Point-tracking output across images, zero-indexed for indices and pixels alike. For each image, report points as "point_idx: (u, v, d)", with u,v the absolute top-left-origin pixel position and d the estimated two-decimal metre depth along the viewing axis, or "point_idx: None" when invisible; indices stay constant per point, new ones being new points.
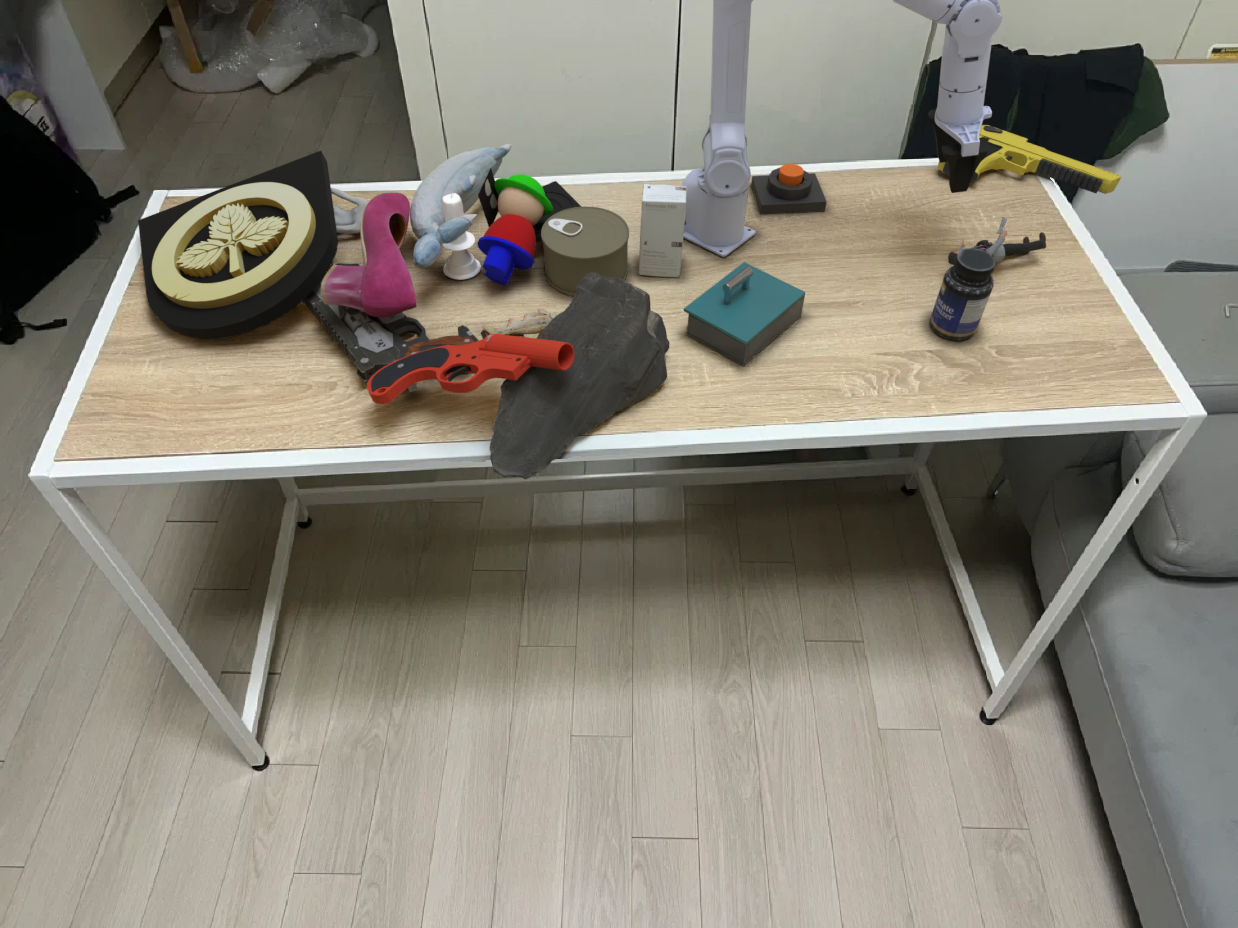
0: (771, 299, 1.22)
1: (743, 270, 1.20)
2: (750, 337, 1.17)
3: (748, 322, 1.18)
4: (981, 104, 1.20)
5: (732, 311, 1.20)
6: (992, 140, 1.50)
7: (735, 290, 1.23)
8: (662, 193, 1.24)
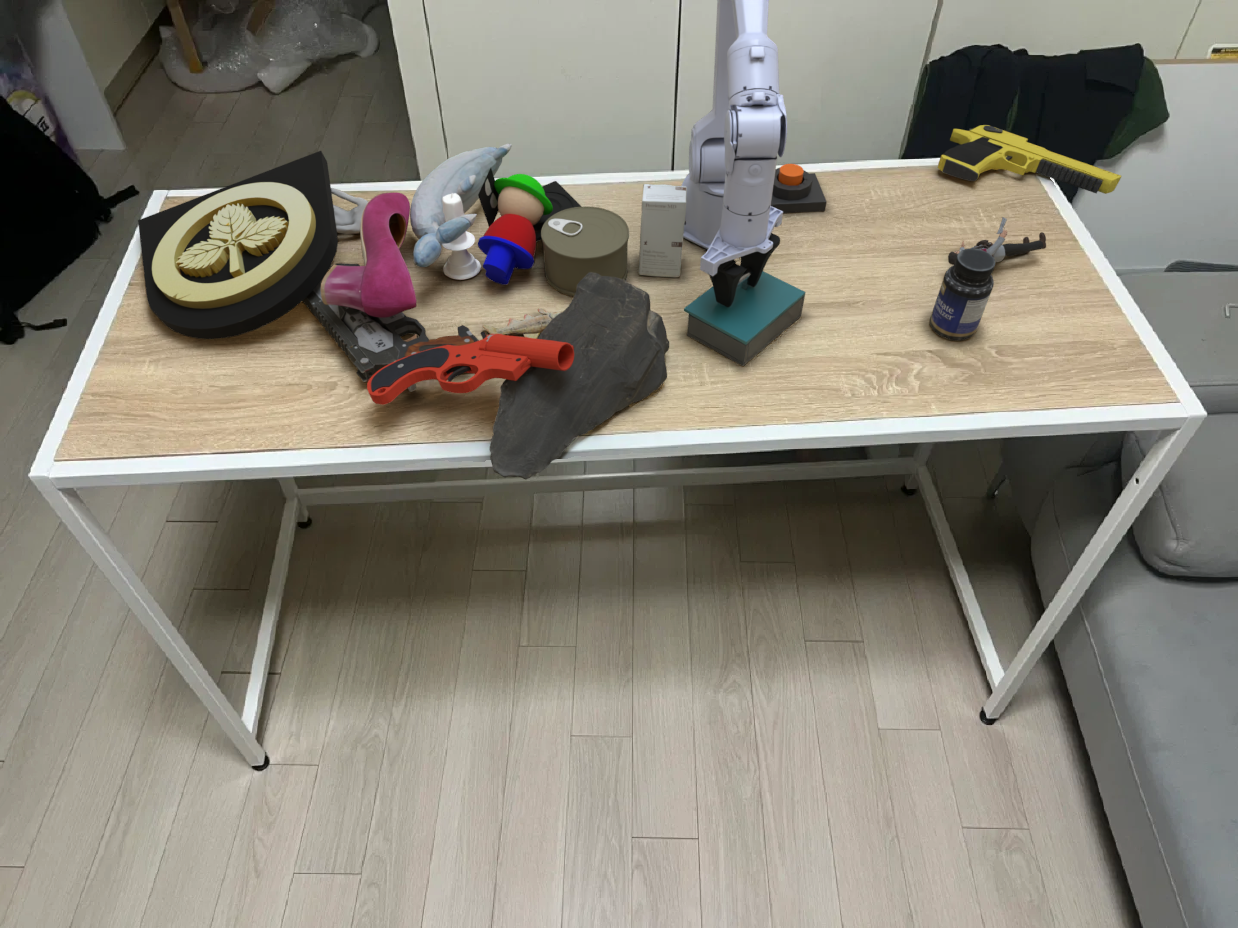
0: (771, 299, 1.22)
1: None
2: (750, 337, 1.17)
3: (748, 322, 1.18)
4: (749, 233, 1.12)
5: (732, 311, 1.20)
6: (992, 140, 1.50)
7: None
8: (663, 193, 1.24)
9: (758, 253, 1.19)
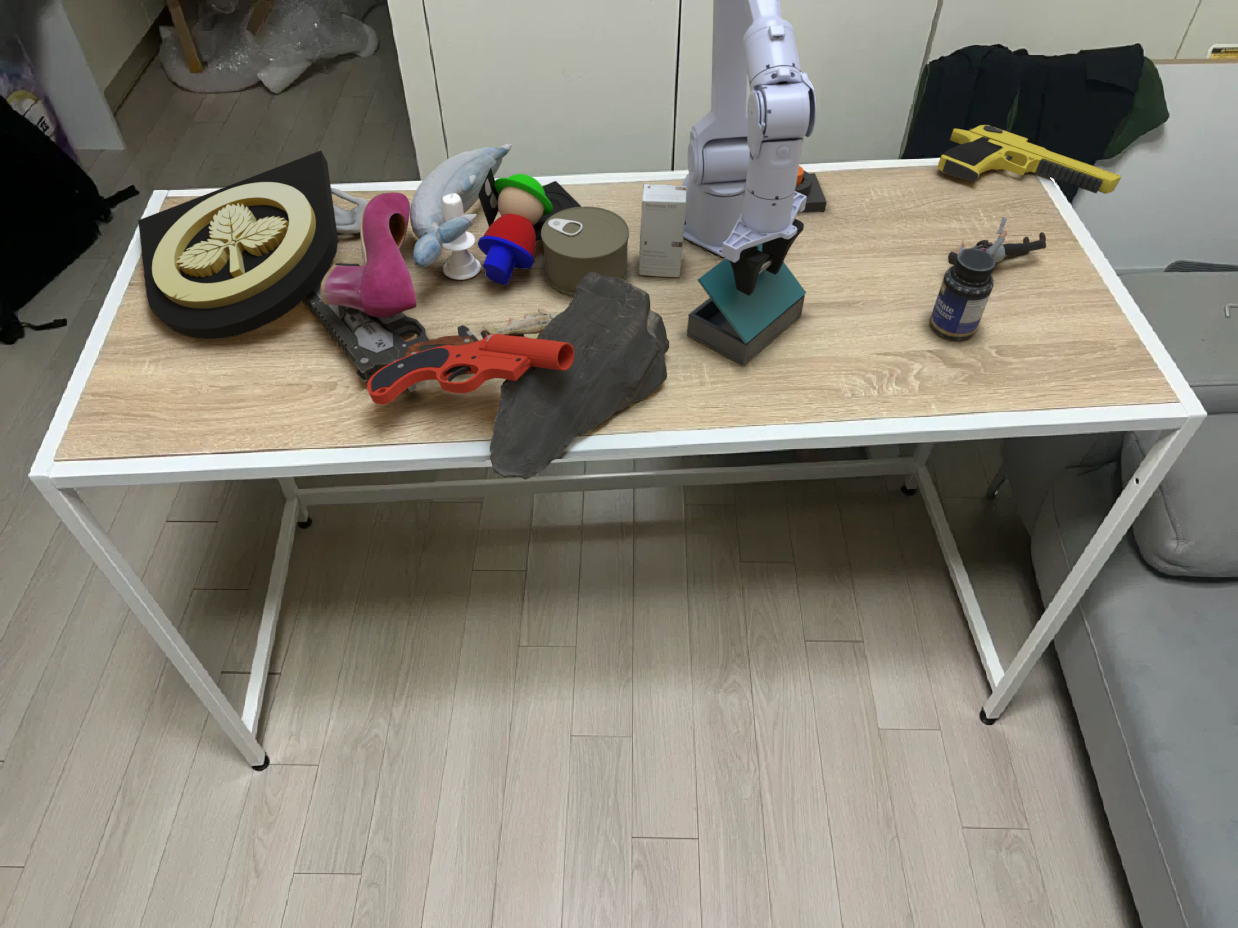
0: (776, 292, 1.20)
1: (767, 259, 1.17)
2: (751, 337, 1.16)
3: (752, 317, 1.17)
4: (772, 218, 1.08)
5: (741, 297, 1.17)
6: (993, 140, 1.50)
7: None
8: (663, 193, 1.24)
9: (781, 239, 1.15)
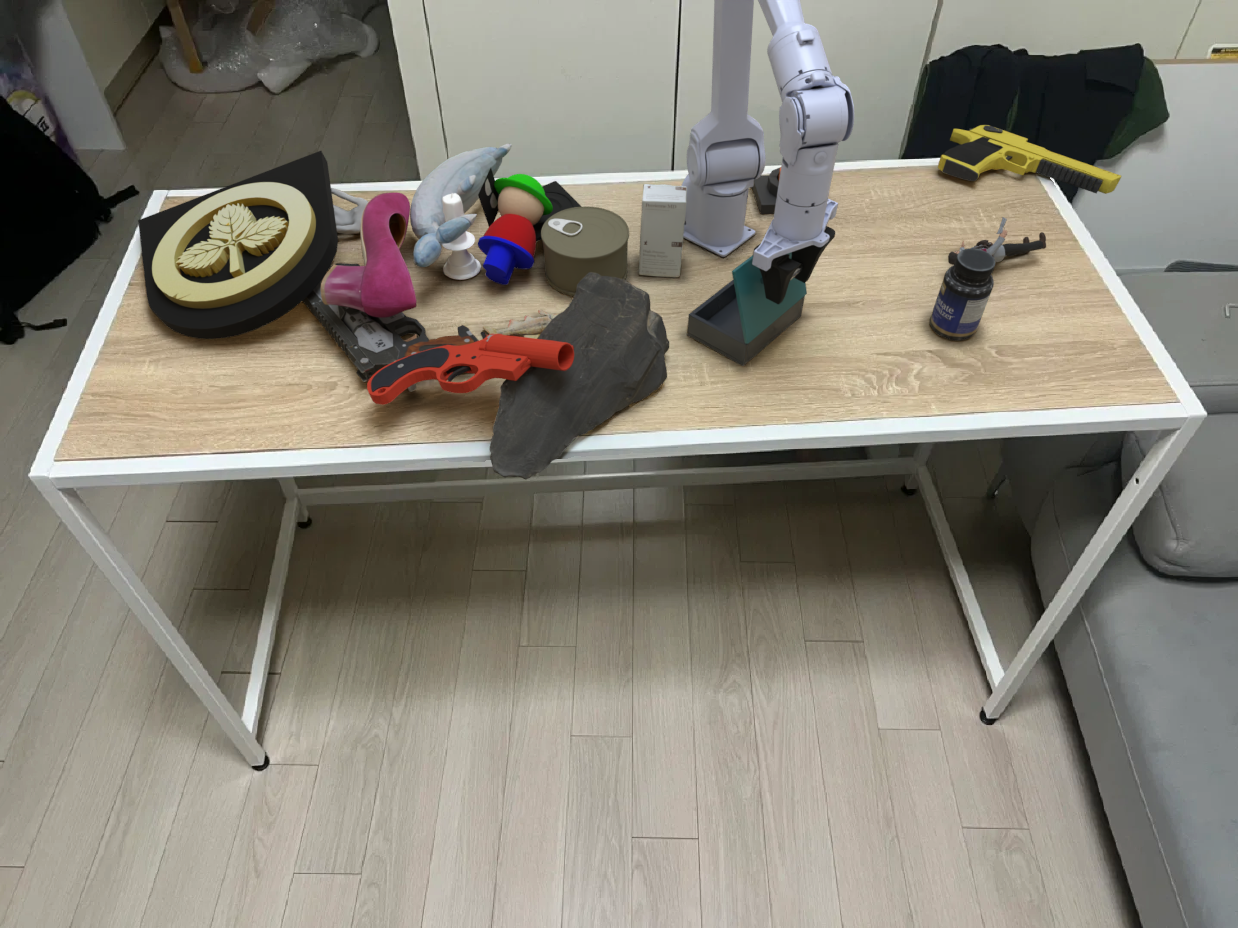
0: (786, 292, 1.19)
1: (798, 269, 1.14)
2: (752, 338, 1.16)
3: (760, 317, 1.16)
4: (805, 226, 1.05)
5: (758, 295, 1.15)
6: (993, 140, 1.50)
7: None
8: (663, 193, 1.24)
9: (811, 247, 1.12)
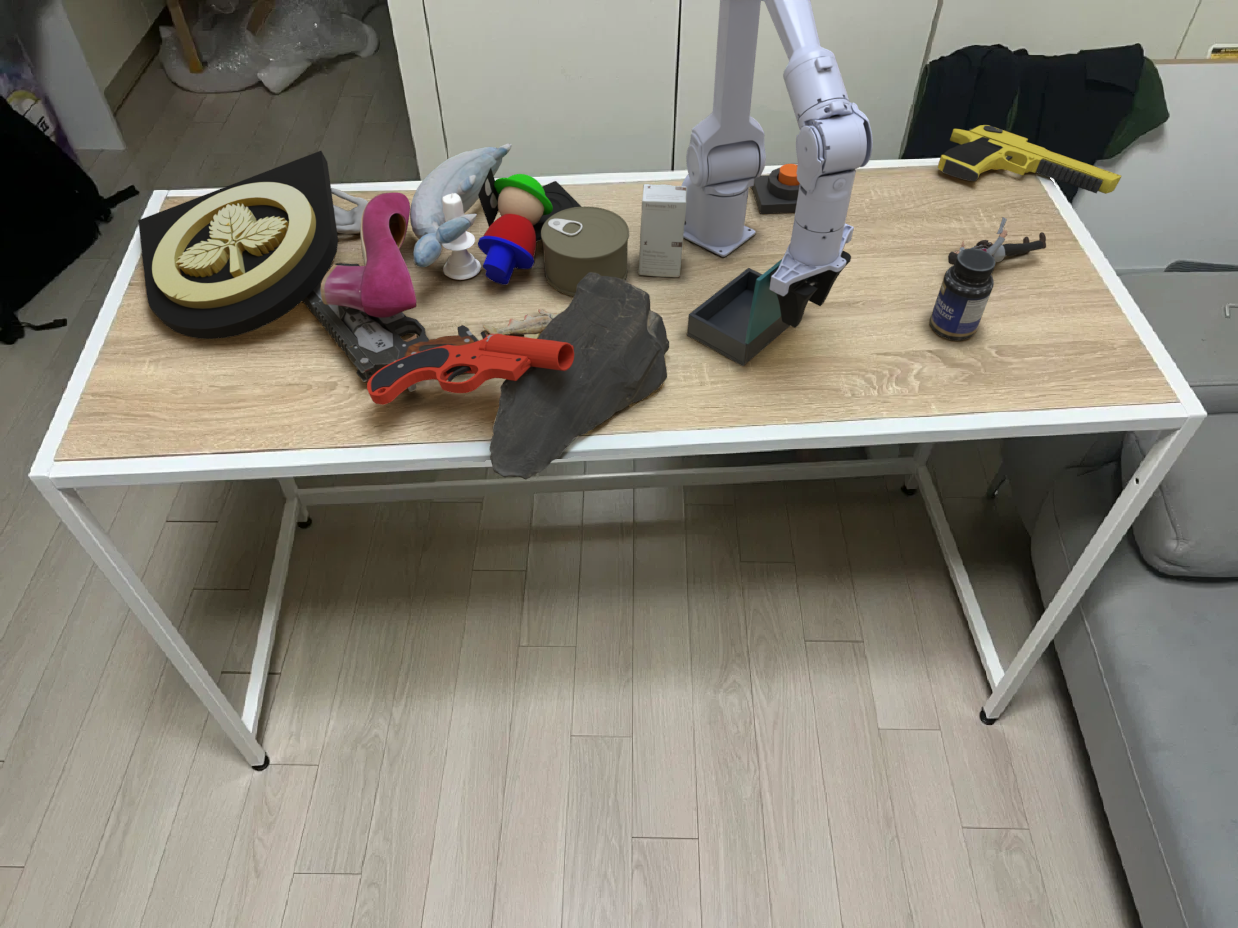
0: None
1: (814, 284, 1.14)
2: (752, 339, 1.16)
3: (765, 319, 1.16)
4: (822, 251, 1.06)
5: (770, 300, 1.14)
6: (993, 140, 1.50)
7: None
8: (662, 193, 1.24)
9: (827, 271, 1.13)
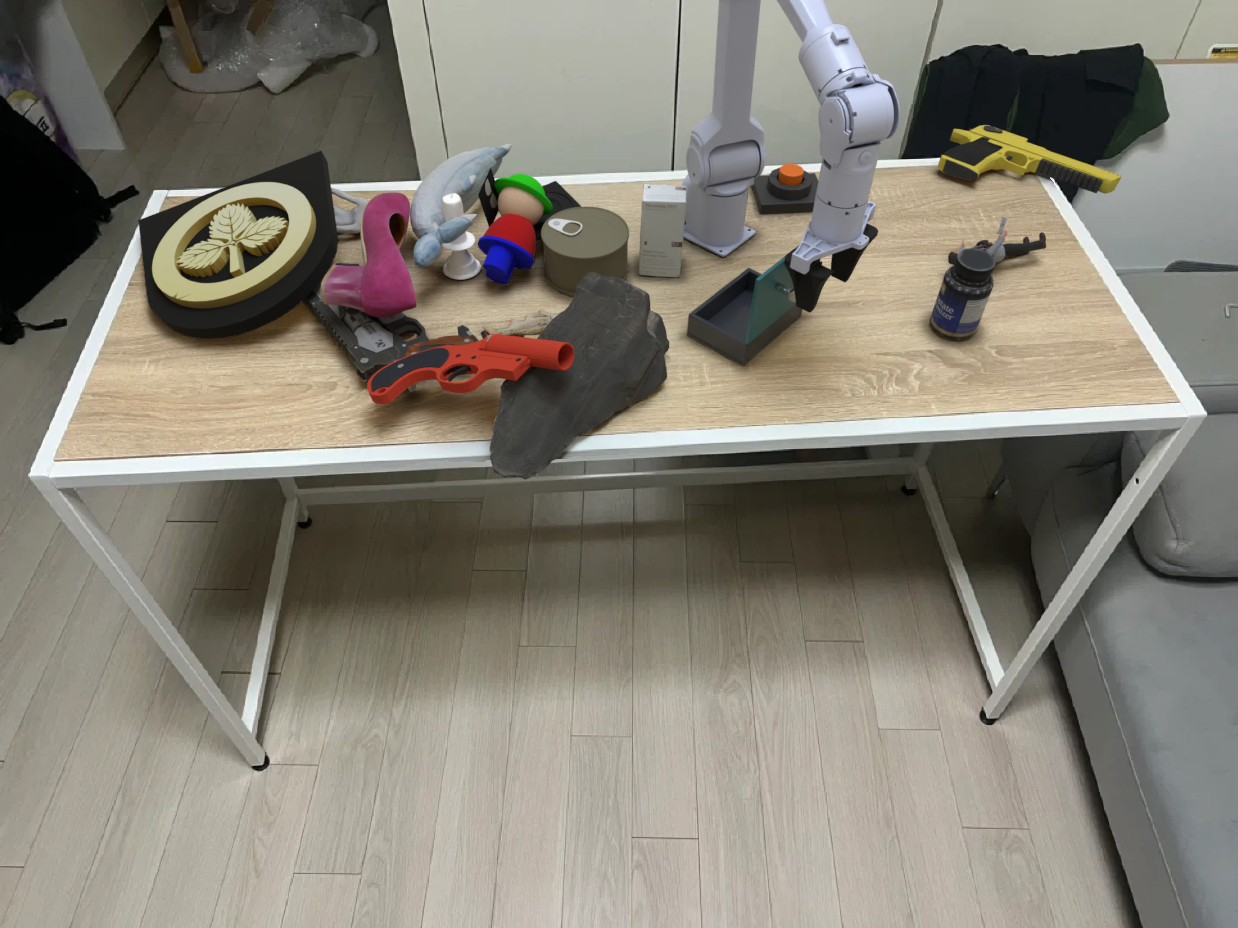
0: None
1: None
2: (752, 339, 1.16)
3: (765, 319, 1.16)
4: (845, 228, 1.02)
5: (770, 300, 1.14)
6: (993, 140, 1.50)
7: None
8: (663, 193, 1.24)
9: None
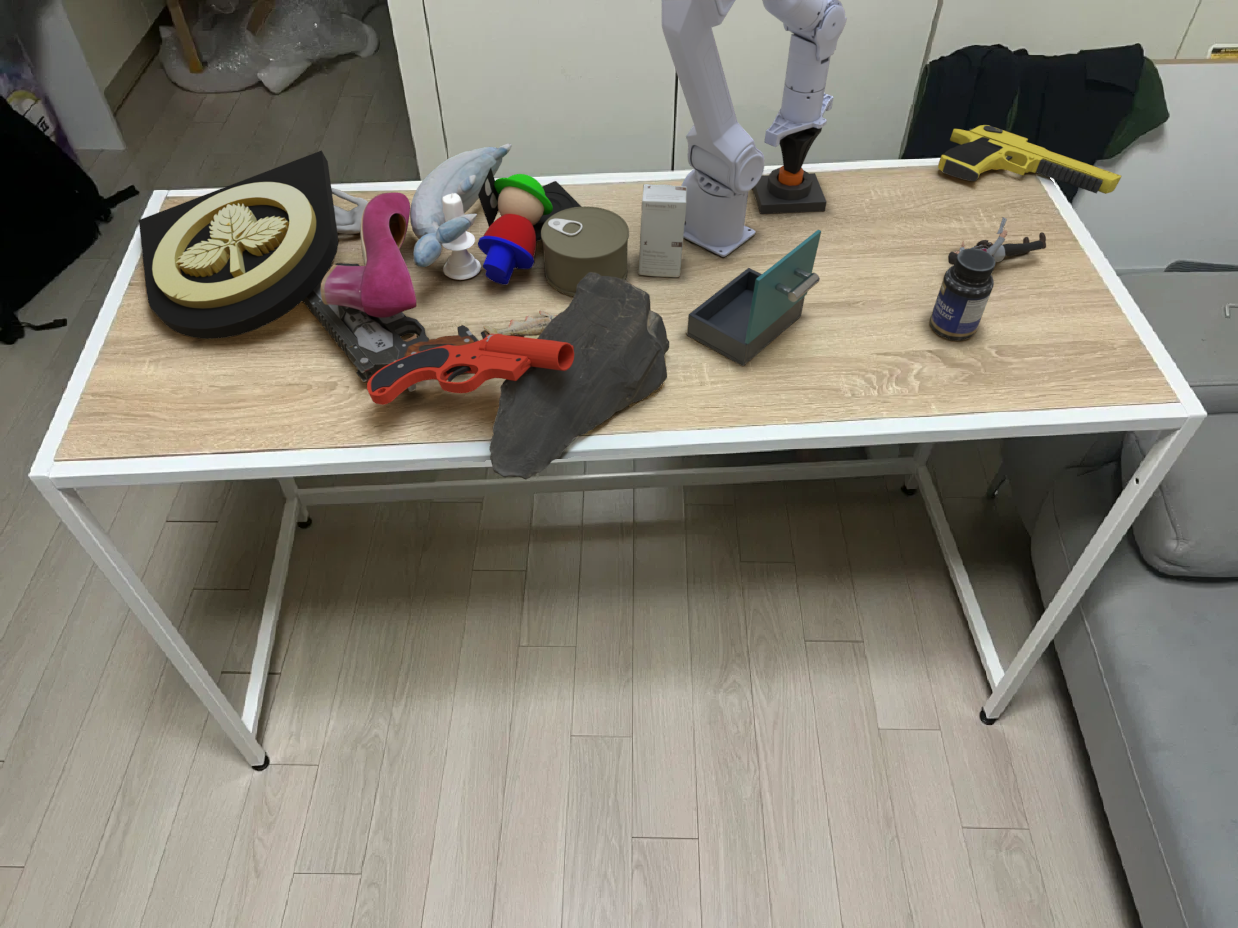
0: None
1: (814, 283, 1.14)
2: (752, 339, 1.16)
3: (765, 319, 1.16)
4: (807, 110, 1.31)
5: (770, 300, 1.14)
6: (993, 140, 1.50)
7: (790, 271, 1.14)
8: (662, 193, 1.24)
9: None
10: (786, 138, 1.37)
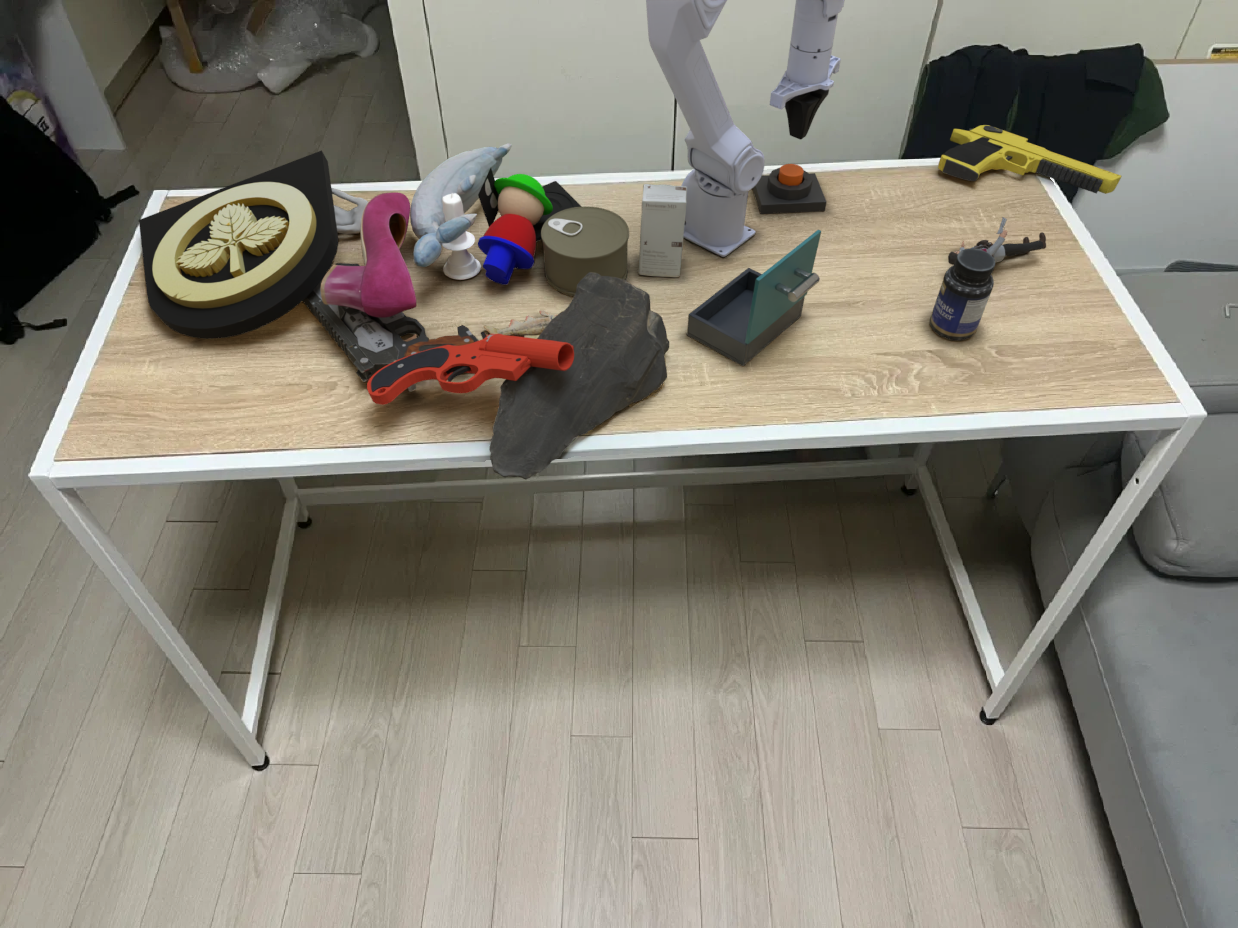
0: None
1: (814, 283, 1.14)
2: (752, 339, 1.16)
3: (765, 319, 1.16)
4: (813, 70, 1.26)
5: (770, 300, 1.14)
6: (993, 140, 1.50)
7: (790, 271, 1.14)
8: (663, 193, 1.24)
9: None
10: (792, 101, 1.33)
